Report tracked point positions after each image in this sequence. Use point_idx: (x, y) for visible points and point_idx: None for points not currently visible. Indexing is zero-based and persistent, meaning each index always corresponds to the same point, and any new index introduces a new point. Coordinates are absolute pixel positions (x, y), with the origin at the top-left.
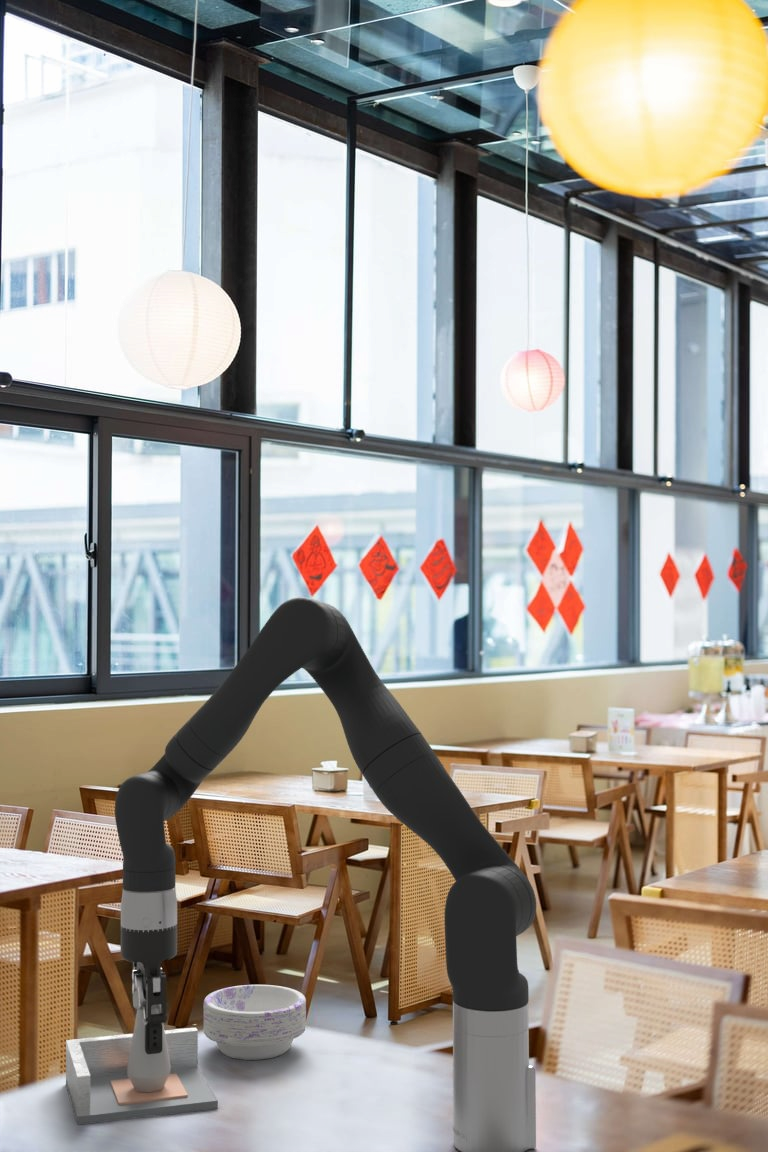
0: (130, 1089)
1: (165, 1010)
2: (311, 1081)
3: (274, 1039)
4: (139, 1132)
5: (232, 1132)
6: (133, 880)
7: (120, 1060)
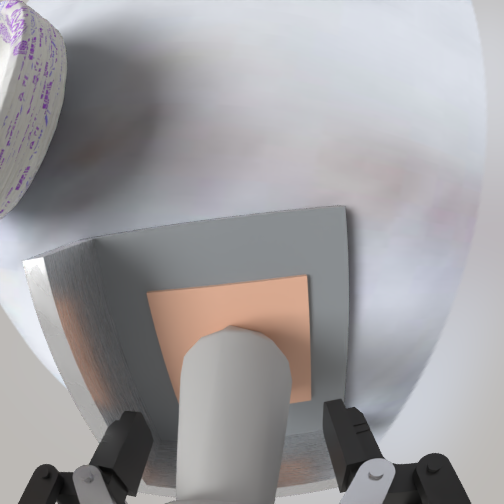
0: None
1: (458, 483)
2: (208, 6)
3: (61, 55)
4: (403, 350)
5: (451, 196)
6: None
7: (128, 406)
